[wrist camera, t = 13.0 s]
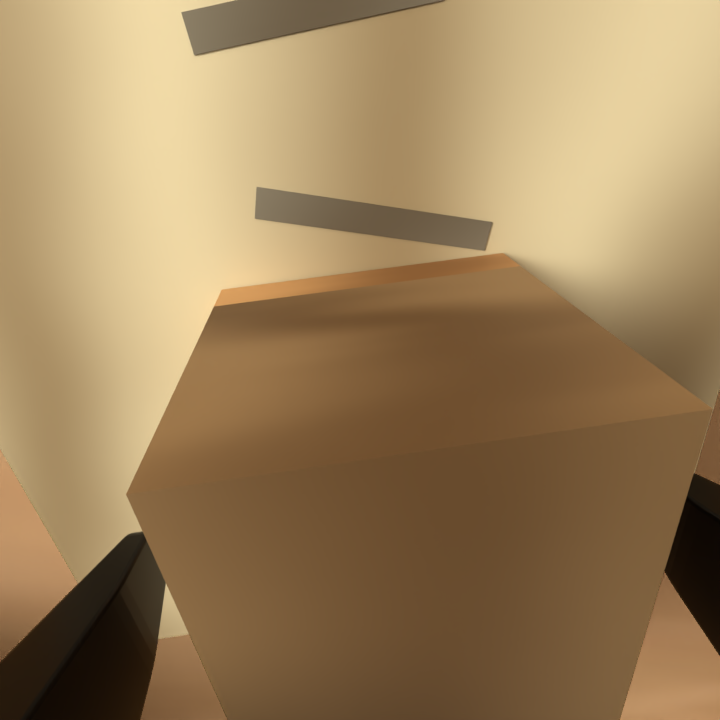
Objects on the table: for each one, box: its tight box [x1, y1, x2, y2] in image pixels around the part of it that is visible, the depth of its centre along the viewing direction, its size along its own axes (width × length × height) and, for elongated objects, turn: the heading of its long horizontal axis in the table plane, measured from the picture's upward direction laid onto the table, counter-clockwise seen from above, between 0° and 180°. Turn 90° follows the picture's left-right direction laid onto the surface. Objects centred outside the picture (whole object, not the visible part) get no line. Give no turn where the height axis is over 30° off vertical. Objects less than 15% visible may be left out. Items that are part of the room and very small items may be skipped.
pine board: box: [0, 0, 720, 639], centre depth 8 cm, size 15×22×2 cm
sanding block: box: [126, 253, 713, 720], centre depth 8 cm, size 5×8×5 cm, turn 6°
